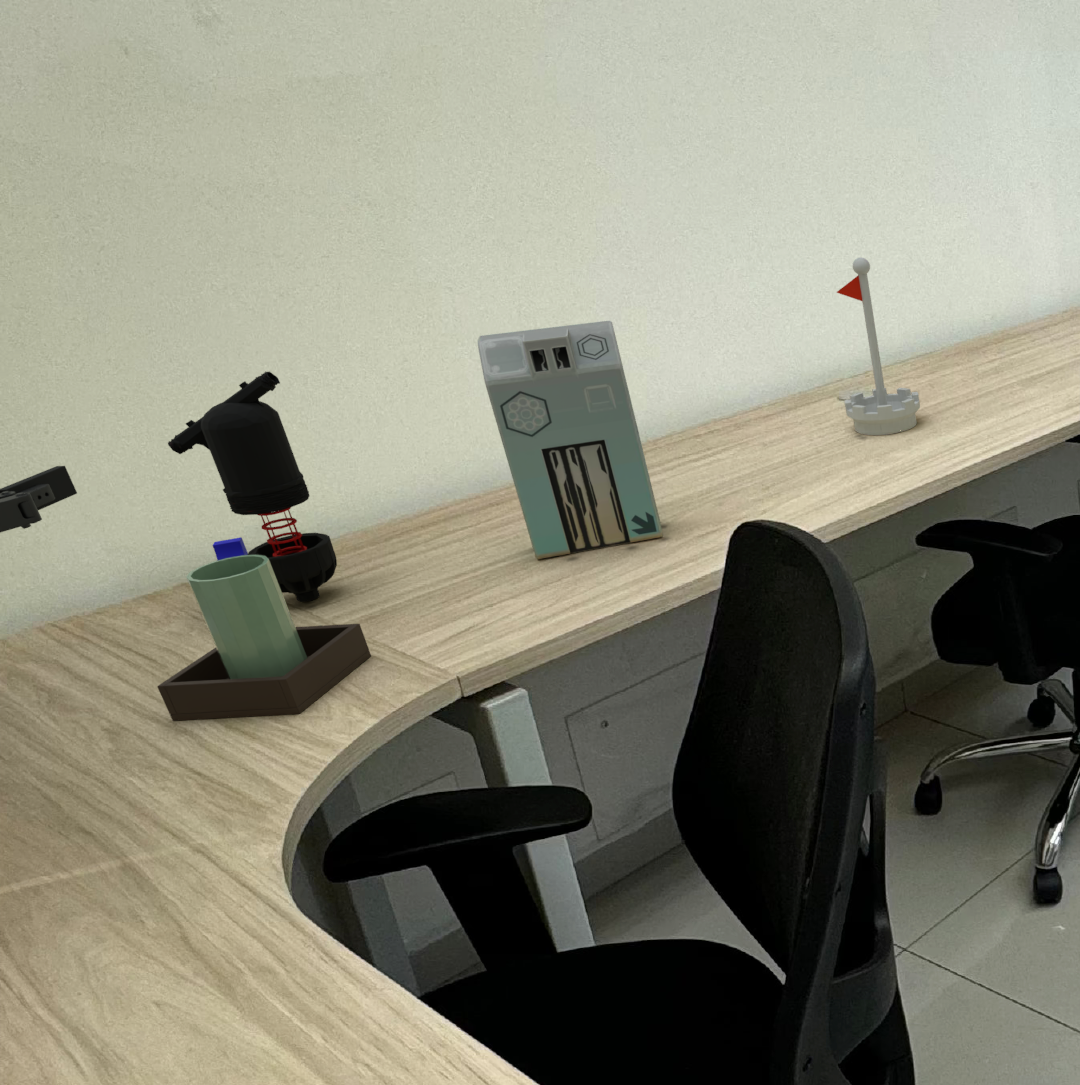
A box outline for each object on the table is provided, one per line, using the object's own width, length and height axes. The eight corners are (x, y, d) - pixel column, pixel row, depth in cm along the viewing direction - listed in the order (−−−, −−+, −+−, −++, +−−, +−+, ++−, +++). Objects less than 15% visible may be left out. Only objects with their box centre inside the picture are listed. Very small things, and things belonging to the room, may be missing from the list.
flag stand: (901, 411, 233) (877, 248, 220) (935, 425, 224) (912, 256, 211) (836, 426, 226) (808, 258, 213) (869, 441, 216) (840, 267, 204)
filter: (366, 578, 168) (288, 361, 156) (346, 605, 160) (262, 378, 148) (250, 595, 165) (161, 374, 152) (225, 623, 157) (128, 392, 144)
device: (536, 561, 171) (474, 347, 159) (538, 543, 178) (478, 336, 165) (663, 538, 178) (613, 330, 165) (660, 521, 184) (611, 320, 171)
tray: (172, 721, 134) (156, 686, 132) (254, 662, 146) (241, 629, 144) (299, 714, 134) (285, 679, 132) (371, 655, 146) (359, 623, 145)
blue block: (256, 606, 161) (239, 564, 158) (214, 614, 159) (196, 572, 157) (270, 575, 171) (254, 535, 168) (231, 582, 169) (214, 541, 166)
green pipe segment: (219, 698, 136) (170, 583, 130) (262, 667, 143) (216, 556, 137) (286, 694, 136) (239, 579, 131) (325, 664, 143) (282, 553, 137)
